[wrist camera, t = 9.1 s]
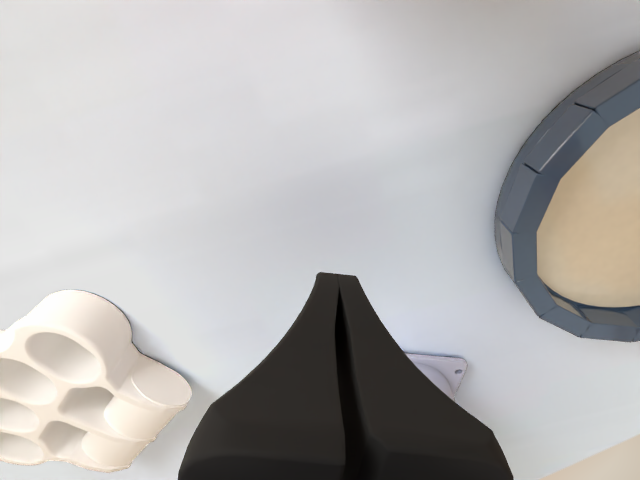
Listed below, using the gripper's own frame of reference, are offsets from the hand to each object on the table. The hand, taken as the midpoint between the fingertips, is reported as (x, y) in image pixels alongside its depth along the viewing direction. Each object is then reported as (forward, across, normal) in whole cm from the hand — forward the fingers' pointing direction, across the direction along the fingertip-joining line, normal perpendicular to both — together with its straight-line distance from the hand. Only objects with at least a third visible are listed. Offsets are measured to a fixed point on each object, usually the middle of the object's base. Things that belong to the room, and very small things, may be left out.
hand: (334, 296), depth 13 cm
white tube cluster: (+9, +18, +18) cm, 27 cm away
